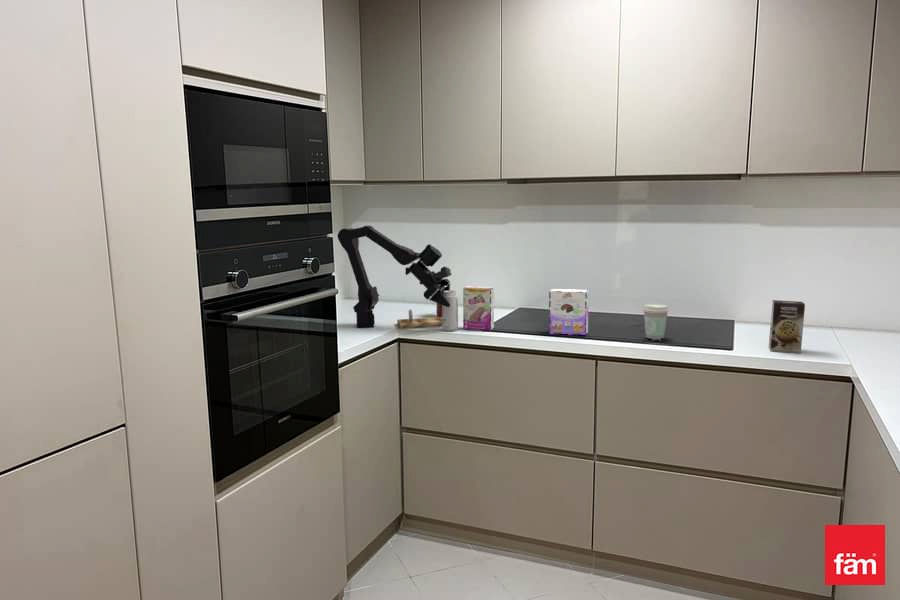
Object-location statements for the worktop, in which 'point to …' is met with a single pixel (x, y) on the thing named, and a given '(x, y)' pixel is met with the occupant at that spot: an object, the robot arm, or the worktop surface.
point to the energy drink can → (450, 312)
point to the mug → (439, 310)
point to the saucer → (410, 316)
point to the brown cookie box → (786, 326)
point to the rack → (420, 323)
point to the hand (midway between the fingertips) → (452, 304)
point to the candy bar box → (478, 308)
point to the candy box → (568, 311)
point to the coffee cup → (655, 320)
